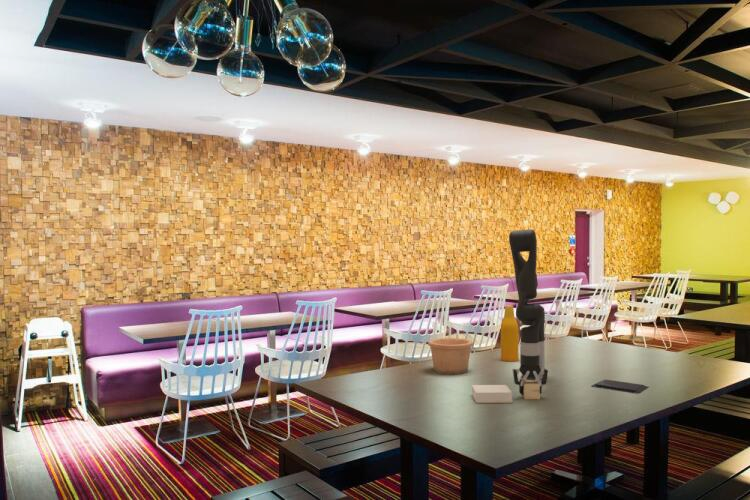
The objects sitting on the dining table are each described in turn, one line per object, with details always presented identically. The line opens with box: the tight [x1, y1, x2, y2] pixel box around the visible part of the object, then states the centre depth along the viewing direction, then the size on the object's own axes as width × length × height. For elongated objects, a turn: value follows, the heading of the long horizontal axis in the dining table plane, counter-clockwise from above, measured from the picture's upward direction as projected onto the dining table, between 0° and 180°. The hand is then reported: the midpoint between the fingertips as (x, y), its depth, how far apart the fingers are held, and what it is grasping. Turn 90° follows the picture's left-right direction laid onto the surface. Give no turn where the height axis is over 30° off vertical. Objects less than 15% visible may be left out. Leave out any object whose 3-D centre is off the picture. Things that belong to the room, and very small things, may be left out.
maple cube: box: [521, 380, 541, 400], centre depth 229 cm, size 6×6×6 cm
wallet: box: [590, 379, 650, 395], centre depth 244 cm, size 20×2×15 cm
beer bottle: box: [500, 305, 520, 362], centre depth 304 cm, size 9×9×29 cm
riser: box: [471, 384, 513, 404], centre depth 228 cm, size 12×14×4 cm
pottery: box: [427, 337, 474, 375], centre depth 280 cm, size 22×22×14 cm
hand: (530, 394), depth 229 cm, fingers closed on maple cube, 6 cm apart
